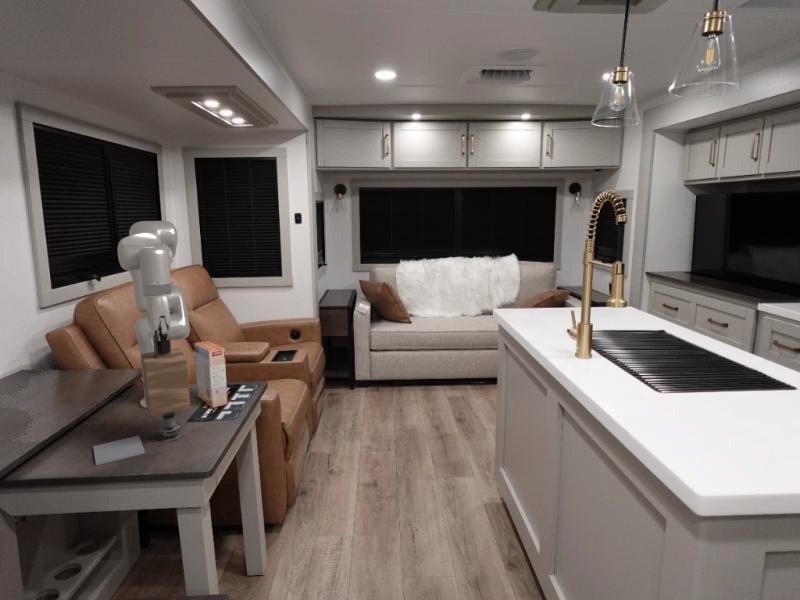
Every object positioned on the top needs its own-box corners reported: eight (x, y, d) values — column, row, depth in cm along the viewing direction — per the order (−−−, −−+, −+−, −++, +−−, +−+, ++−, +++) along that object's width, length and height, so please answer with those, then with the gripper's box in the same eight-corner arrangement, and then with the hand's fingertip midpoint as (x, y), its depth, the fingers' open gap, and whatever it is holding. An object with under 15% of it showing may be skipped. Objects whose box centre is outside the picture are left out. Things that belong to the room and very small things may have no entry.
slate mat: (93, 448, 145) (93, 446, 145) (139, 437, 152) (139, 435, 152) (96, 465, 136) (95, 463, 135) (144, 453, 142) (144, 451, 142)
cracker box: (229, 404, 177) (225, 347, 173) (212, 409, 173) (207, 351, 169) (214, 393, 187) (209, 339, 183) (197, 397, 183) (193, 342, 179)
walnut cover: (145, 403, 152) (138, 334, 147) (183, 396, 157) (177, 329, 153) (151, 416, 143) (143, 343, 139) (190, 407, 149) (184, 337, 144)
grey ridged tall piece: (175, 432, 156) (172, 395, 153) (185, 437, 152) (182, 400, 150) (157, 438, 151) (153, 401, 149) (166, 444, 147) (162, 406, 145)
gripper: (138, 287, 148) (144, 346, 151) (147, 296, 134) (153, 361, 138) (166, 284, 152) (171, 342, 156) (176, 293, 138) (182, 356, 142)
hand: (162, 350), depth 147 cm, fingers closed on walnut cover, 4 cm apart
